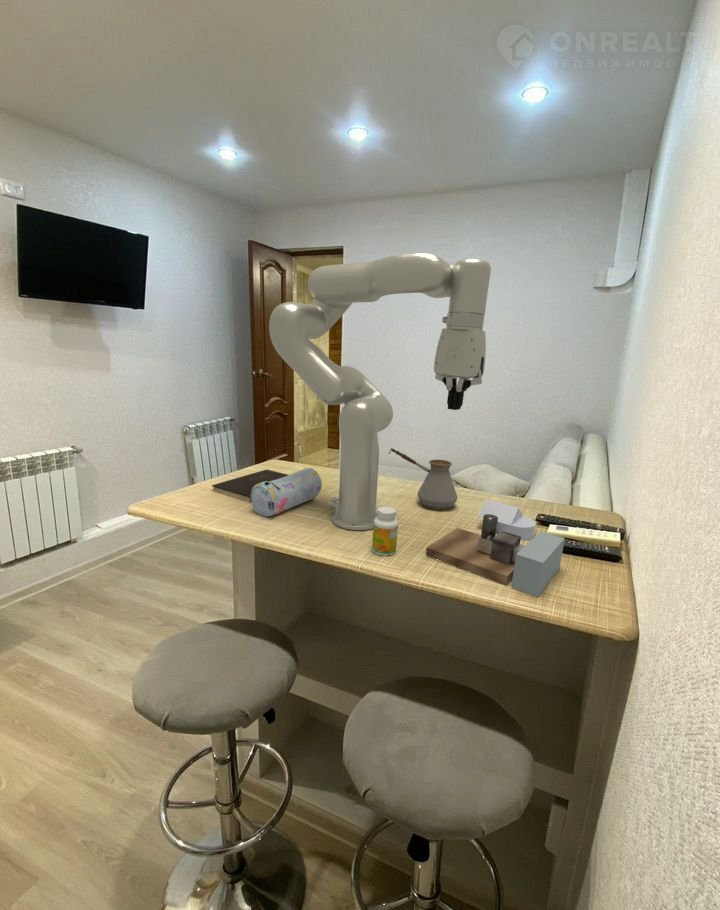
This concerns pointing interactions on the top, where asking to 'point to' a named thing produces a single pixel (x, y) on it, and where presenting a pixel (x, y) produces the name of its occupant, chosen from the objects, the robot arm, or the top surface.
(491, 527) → the bolt
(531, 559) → the block
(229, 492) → the hardcover book
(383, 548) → the supplement bottle
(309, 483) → the pencil case
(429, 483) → the coffee pot
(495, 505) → the wedge on round base
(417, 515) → the top surface
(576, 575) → the top surface
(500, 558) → the door panel
